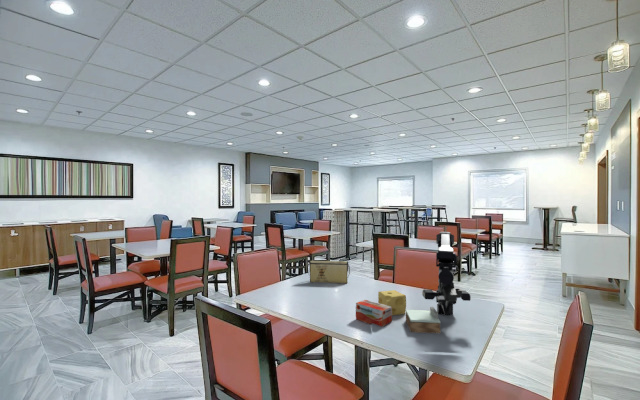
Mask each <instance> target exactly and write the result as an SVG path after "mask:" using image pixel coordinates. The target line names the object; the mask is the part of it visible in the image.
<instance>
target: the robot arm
mask: <svg viewBox="0 0 640 400" xmlns="http://www.w3.org/2000/svg"><path fill="white" fill-rule="evenodd" d="M435 243H436V245H437V251H436V256H435V257H436V259H435V267H437V268H438V279H437V281H438V285H437V289H436V290H435V291H433V289H427V288H425V289H424V288H423V289H422V291H421V292H422V297H423V299H425V300H434V299H436V303H437V304H436V312H437V313H438V315H443V316H451V315H452V316H453V315H454V305H456V304H457V302H458V301H457V300H458V298H459V299H461V300H462V301H468V302H470V301H471V294H470V293H469V292H468V291H466V290H463V289H462V288H456V287H455V285H454V284H455V283H454V279H455V277H454V270H453V269H456V267H457V266H458V256H457V254H456V252H455V251H454V248H453V246H454V245H455V236H454V234H452V232H449V231H440V232H439V233H438V234H436V242H435Z"/></svg>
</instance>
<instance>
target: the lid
mask: <svg viewBox="0 0 640 400" xmlns="http://www.w3.org/2000/svg"><path fill="white" fill-rule="evenodd" d="M429 308H430V309H429V310H426V309H424V310H423V309H421V310H420V309H406V311H405V314H406V313H407V315H408V317H409V319H410V321H411V322H429V323H440V324H441V320H440V319H439V314H438V313H437V309H435V308H434V307H433V306H430V307H429Z"/></svg>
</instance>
